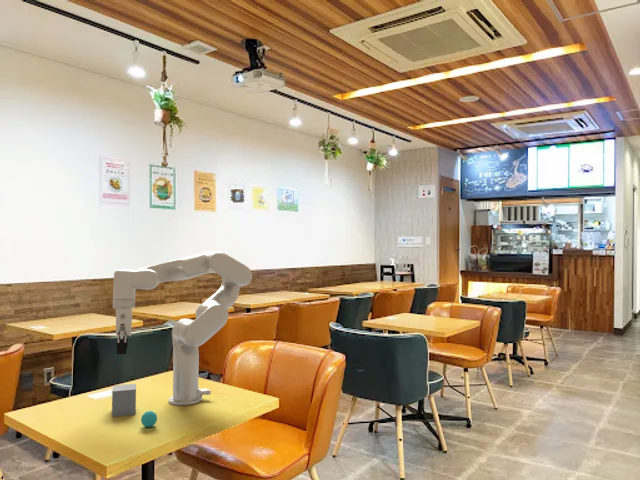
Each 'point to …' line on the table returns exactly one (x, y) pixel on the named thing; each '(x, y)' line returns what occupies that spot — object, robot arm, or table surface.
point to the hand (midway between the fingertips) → (122, 351)
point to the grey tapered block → (124, 400)
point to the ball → (149, 418)
